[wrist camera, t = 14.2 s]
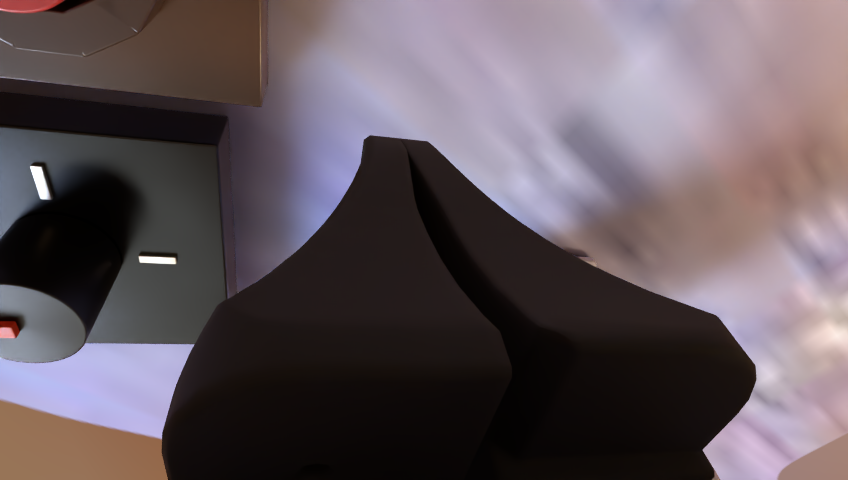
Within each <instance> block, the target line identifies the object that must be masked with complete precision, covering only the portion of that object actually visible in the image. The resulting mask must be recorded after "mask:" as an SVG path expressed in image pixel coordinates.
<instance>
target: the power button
mask: <svg viewBox="0 0 848 480" xmlns="http://www.w3.org/2000/svg"><path fill="white" fill-rule="evenodd" d="M63 1H65V0H0V10H1V11H6V12H11V13H36V12H42V11H45V10H48V9H51V8H53V7H55V6H56V5H58V4H60V3H61V2H63Z"/></svg>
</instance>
